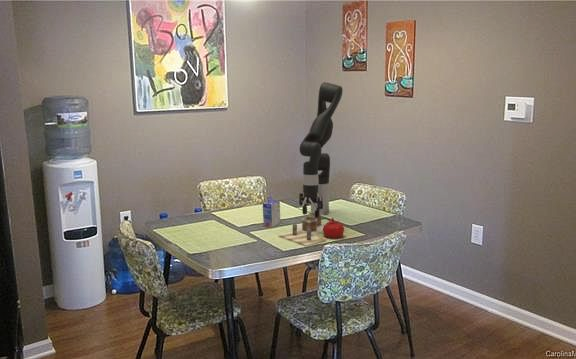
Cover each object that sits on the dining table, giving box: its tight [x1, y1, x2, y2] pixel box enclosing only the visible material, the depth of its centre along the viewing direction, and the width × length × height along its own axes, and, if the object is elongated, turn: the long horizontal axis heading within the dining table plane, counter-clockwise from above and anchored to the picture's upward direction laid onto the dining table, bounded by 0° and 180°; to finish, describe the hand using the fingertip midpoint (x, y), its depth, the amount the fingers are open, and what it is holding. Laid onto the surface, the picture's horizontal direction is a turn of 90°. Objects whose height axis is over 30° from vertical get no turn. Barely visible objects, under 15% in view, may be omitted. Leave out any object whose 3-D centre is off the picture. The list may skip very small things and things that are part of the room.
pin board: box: [277, 223, 327, 248], centre depth 250 cm, size 20×12×6 cm, turn 40°
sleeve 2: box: [307, 211, 323, 227], centre depth 272 cm, size 5×5×6 cm
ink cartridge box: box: [262, 196, 281, 228], centre depth 274 cm, size 10×6×14 cm, turn 155°
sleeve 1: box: [301, 216, 317, 232], centre depth 263 cm, size 5×5×6 cm
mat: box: [297, 224, 325, 235], centre depth 268 cm, size 16×14×1 cm
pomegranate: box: [322, 217, 345, 239], centre depth 253 cm, size 10×10×9 cm
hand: (310, 215), depth 262 cm, fingers open, 8 cm apart
